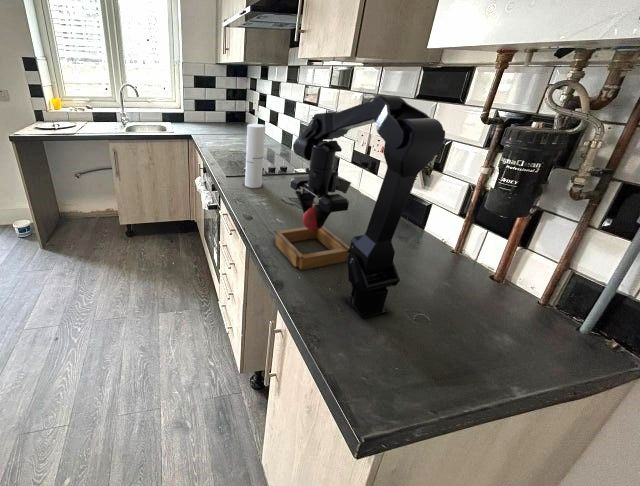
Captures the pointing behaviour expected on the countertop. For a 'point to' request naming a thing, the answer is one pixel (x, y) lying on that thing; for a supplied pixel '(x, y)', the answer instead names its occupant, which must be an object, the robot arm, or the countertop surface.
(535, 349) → the countertop surface
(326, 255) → the square wooden frame
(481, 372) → the countertop surface
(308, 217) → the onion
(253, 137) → the cylindrical container
